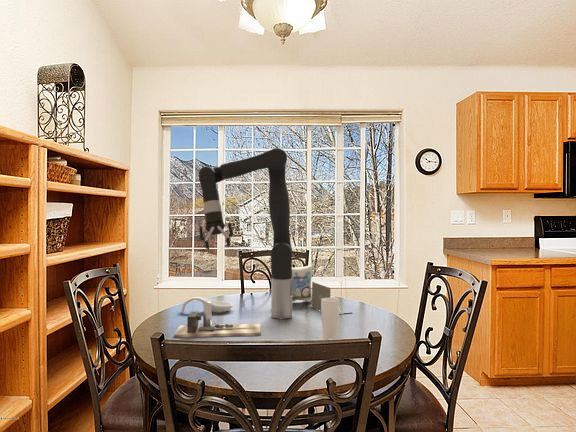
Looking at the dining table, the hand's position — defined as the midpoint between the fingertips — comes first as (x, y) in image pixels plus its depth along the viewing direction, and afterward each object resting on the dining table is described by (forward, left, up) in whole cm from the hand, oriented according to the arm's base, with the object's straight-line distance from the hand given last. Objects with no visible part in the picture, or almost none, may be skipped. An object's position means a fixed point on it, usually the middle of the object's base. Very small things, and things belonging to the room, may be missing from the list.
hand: (218, 248), depth 171 cm
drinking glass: (-43, +32, -31) cm, 62 cm away
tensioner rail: (-2, +18, -31) cm, 36 cm away
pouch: (-38, -29, -31) cm, 57 cm away
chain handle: (-1, +18, -29) cm, 35 cm away
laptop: (-53, -13, -31) cm, 63 cm away
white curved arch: (+6, -14, -31) cm, 35 cm away
